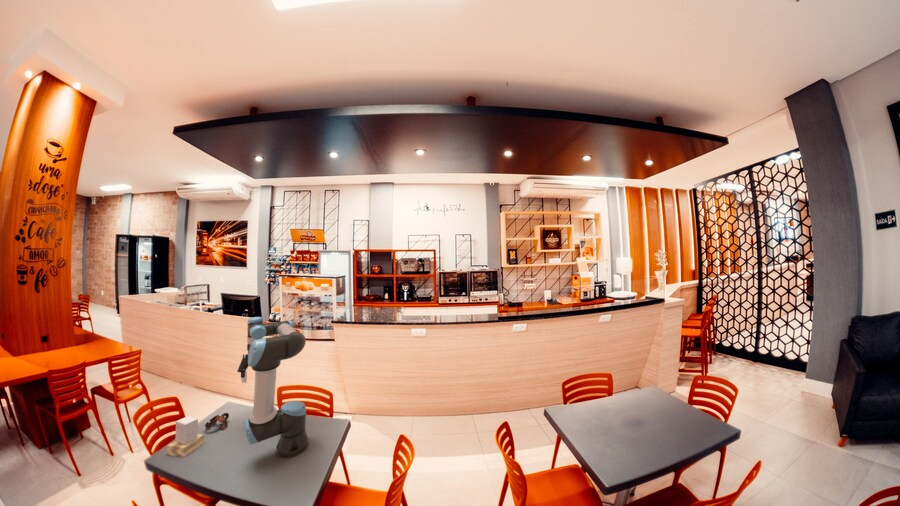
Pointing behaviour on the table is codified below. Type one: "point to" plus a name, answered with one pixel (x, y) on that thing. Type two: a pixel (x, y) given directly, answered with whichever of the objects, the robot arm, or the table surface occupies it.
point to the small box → (186, 430)
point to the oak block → (184, 447)
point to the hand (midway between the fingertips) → (254, 377)
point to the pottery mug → (218, 418)
